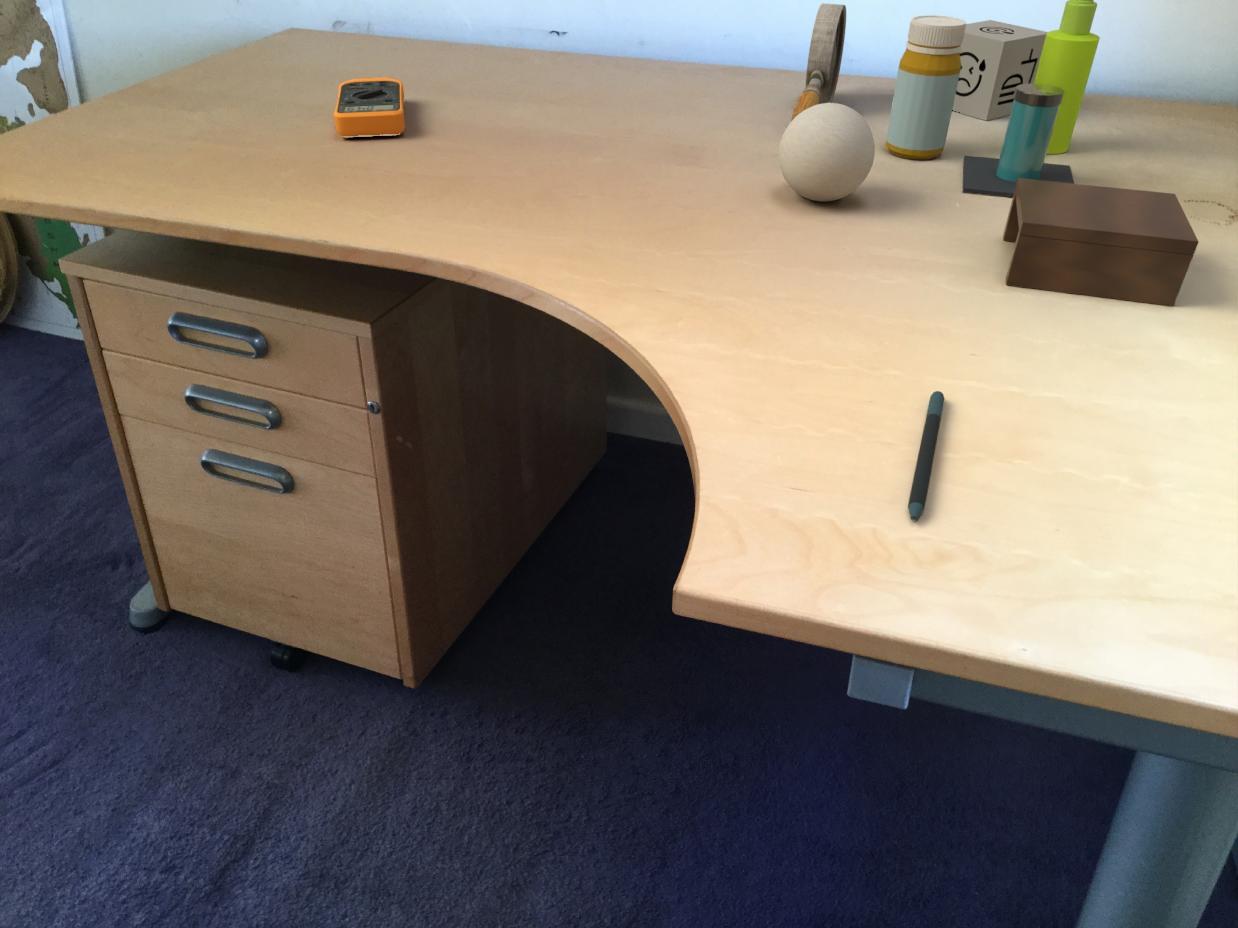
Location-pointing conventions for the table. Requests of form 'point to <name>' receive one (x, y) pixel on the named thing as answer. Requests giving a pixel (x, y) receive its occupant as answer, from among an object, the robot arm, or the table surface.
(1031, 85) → the spice jar
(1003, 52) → the icon cube
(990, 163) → the mat
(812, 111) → the ball
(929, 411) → the pen
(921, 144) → the bottle
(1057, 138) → the soap dispenser
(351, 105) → the multimeter
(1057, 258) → the wooden box
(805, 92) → the magnifying glass
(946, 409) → the table surface
